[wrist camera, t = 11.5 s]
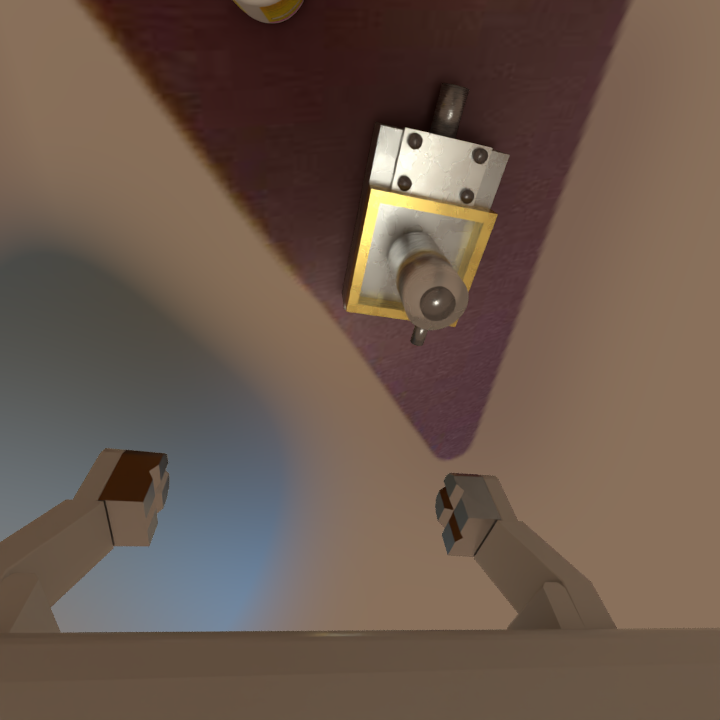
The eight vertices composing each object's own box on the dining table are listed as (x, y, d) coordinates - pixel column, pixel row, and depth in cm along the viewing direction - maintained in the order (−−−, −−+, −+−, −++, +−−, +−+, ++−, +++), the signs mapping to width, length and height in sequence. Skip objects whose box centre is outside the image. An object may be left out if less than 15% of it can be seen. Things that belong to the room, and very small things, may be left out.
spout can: (395, 227, 39) (416, 269, 30) (445, 237, 40) (480, 280, 31) (378, 296, 43) (392, 351, 34) (424, 303, 44) (449, 358, 35)
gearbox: (385, 69, 35) (396, 66, 30) (509, 101, 38) (539, 104, 33) (341, 293, 47) (344, 317, 42) (439, 307, 49) (453, 332, 44)
